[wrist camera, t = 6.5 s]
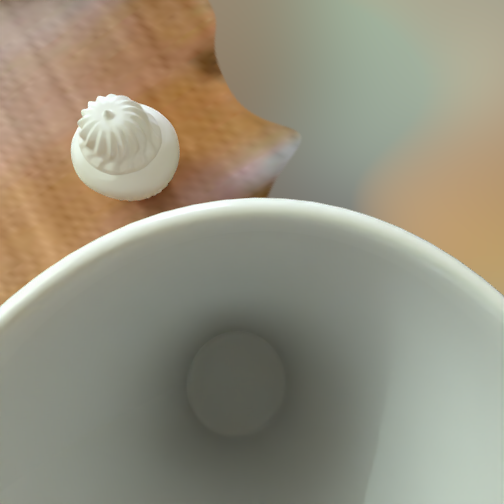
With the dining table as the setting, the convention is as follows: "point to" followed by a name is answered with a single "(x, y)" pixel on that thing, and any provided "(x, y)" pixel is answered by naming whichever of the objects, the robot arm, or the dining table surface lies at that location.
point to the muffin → (124, 149)
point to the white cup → (253, 365)
